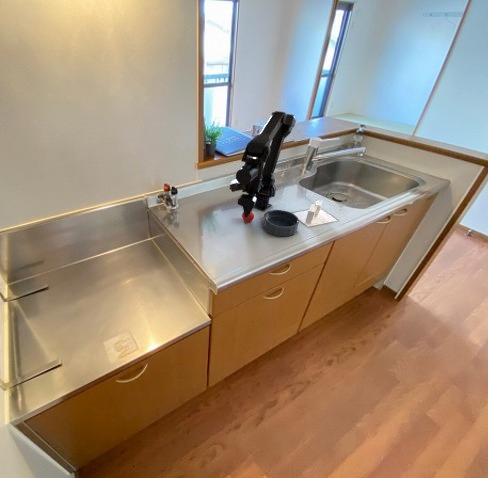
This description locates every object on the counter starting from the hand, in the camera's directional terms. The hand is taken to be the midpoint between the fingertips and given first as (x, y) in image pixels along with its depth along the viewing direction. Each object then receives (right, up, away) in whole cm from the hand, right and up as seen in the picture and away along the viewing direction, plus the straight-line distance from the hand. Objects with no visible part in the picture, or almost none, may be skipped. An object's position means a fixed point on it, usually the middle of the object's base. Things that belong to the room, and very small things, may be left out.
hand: (248, 211), depth 110 cm
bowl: (+12, -7, -1) cm, 14 cm away
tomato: (0, -4, +3) cm, 4 cm away
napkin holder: (+29, -2, +6) cm, 30 cm away
